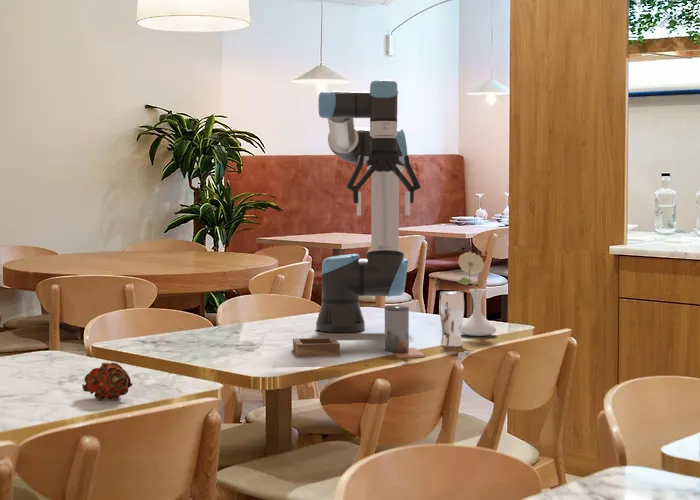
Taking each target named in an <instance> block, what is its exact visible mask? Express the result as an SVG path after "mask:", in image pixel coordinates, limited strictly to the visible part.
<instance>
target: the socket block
mask: <svg viewBox="0 0 700 500" xmlns="http://www.w3.org/2000/svg"><path fill="white" fill-rule="evenodd" d="M340 344H341V343H340V342H339V341H337V340H336V339H335V338H334V337H308V338H307V337H306V338H305V337H304V338H302V337H301V338H292V351H293V352H294V354H295V355H296V356H297V357H329V356H333V357H335V356H340V355H341V354H340V353H341V352H340V351H341V345H340Z"/></svg>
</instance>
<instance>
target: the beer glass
mask: <svg viewBox="0 0 700 500" xmlns="http://www.w3.org/2000/svg"><path fill="white" fill-rule="evenodd" d="M464 297H465V296H464V292H463V291H453V290H451V291H447V290H446V291H440V292H439V307H438V308H439V310H438V311H439V318H440V324H441V325H440V326H441V339H440V340H441V341H440V346H441V347H446V348H459V347H462V346H463V339H462V333H461V327H462V323H464V321H463V320H464V315H465V298H464Z"/></svg>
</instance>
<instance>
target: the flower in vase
mask: <svg viewBox="0 0 700 500" xmlns="http://www.w3.org/2000/svg"><path fill="white" fill-rule="evenodd" d="M483 260H484V259H483V258H482V257H481V255H480V254H476V252H471V251H468V252H464V253H462V254H461V255H459V258H458V261H457V264H458V265H459V266H458V267H460V268H461V269H460V270H461V271H462V272H465V273H468V278H467V277H461V278H460V279H459V280H458V281H457V283H458V284H462V285H465V286H468V285H469V283H471V285H472V286H473V288H471V289H468V291H469V292H470V295H471V296H472V302H473V310H472V314H471V315H470V317H468V318H467V319H466V320H465V321H463V322H462V327H461V335H462V334H463V335H466V336H469V337H472V336H473V337H486V336H490V335H493V334H495V333H496V332H497V328H496V327H495V326H494V324H493V323H491V322H490V320H488V319H487V318H486V317H485V316H484V315H483V313H482V300H483V296H484V293H485V292H486V290H487V289H486V288H485V289H483V288H476V286H477V285H480V284H482V283H483V282H485V280H486V277H485V278H484V279H482V280H478V282H476V283H475V284H474V283H473V282H472V279H471V275H475V274H479V273H481V272H483V270H484V267H485V262H484V261H483Z"/></svg>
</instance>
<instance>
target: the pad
mask: <svg viewBox="0 0 700 500" xmlns="http://www.w3.org/2000/svg"><path fill="white" fill-rule="evenodd" d="M394 356H396V357H398V359H399V358H400V359H405V358H406V359H408V358H412V359H413V358H425V353H422V352H421V351H420V350H419V349H417V348H415V347H409V352H408V353H403V354H394Z"/></svg>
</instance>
